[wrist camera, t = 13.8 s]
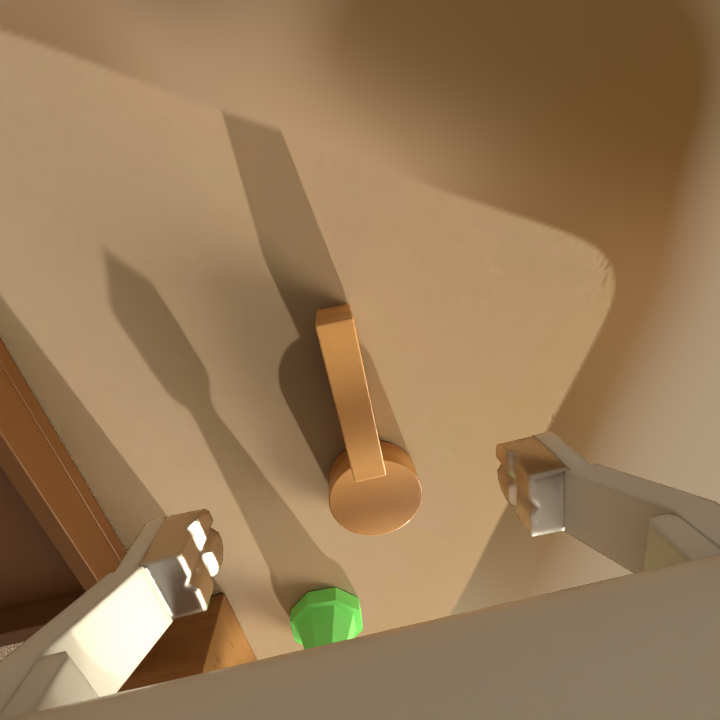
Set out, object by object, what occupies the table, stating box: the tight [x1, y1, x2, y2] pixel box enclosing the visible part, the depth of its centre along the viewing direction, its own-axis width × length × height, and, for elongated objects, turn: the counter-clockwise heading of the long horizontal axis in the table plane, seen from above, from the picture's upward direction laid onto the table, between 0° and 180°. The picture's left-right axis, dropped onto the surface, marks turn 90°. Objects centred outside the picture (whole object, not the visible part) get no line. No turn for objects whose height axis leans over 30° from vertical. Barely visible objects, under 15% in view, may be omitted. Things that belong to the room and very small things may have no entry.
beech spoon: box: [315, 304, 422, 535], centre depth 16 cm, size 11×4×3 cm, turn 11°
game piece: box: [290, 587, 363, 649], centre depth 19 cm, size 4×4×6 cm
